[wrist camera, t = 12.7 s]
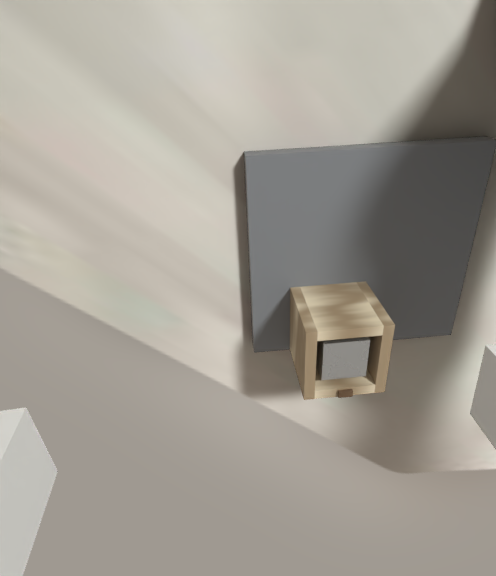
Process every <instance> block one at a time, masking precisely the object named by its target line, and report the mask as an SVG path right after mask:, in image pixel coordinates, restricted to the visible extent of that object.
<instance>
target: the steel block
mask: <svg viewBox="0 0 496 576" xmlns="http://www.w3.org/2000/svg"><path fill="white" fill-rule="evenodd" d="M369 346H370V339H369V337H358V338H347V339H336V340H325V341H317V356H316V366H317V368H318V371H319V374H320V377H321V380H330V379H341V378H351V377H362V376H366V370H367V362H368V354H369Z"/></svg>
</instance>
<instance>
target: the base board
mask: <svg viewBox="0 0 496 576" xmlns="http://www.w3.org/2000/svg"><path fill="white" fill-rule="evenodd" d="M495 148H496V139H493V138H490V137H487V136H483V137H468V138H452V139H436V140H421V141H405V142H389V143H373V144H358V145H342V146H326V147H311V148H295V149H279V150H264V151H248V152H244V163H245V185H246V207H247V229H248V251H249V273H250V295H251V317H252V339H253V348H254V352H265V351H276V350H287V349H290V288H291V287H303V286H315V285H328V284H340V283H352V282H364V281H366V282H367V284H368V285H369V287H370V288H371V290H372V291H373V293H374V294H375V296H376V297H377V299H378V300H379V302H380V303H381V305H382V306H383V308H384V309H385V311H386V312H387V314H388V315H389V317H390V318H391V320H392V321H393V323H394V324H395V329H394V335H393V340H398V339H409V338H420V337H431V336H442V335H451V333H452V328H453V324H454V320H455V316H456V312H457V308H458V303H459V299H460V295H461V291H462V287H463V282H464V278H465V274H466V270H467V266H468V261H469V257H470V253H471V249H472V245H473V241H474V236H475V232H476V228H477V224H478V220H479V215H480V211H481V207H482V203H483V199H484V194H485V190H486V186H487V182H488V178H489V174H490V169H491V165H492V161H493V157H494V153H495Z"/></svg>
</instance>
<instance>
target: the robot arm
mask: <svg viewBox="0 0 496 576" xmlns="http://www.w3.org/2000/svg"><path fill="white" fill-rule="evenodd" d="M470 414H471V416H472V417H473V418H474V420H475V421H476V423H477V424H478V425H479V427H480V428H481V430H482V431H483V432H484V434H485V435H486V437H487V438H488V439H489V441H490V442H491V444H492V445H493V446H494V448H495V449H496V344H491V345H486V346H485V350H484V355H483V359H482V363H481V368H480V372H479V377H478V381H477V385H476V390H475V394H474V398H473V403H472V407H471V411H470ZM56 474H57V469H56V467H55V465H54V463H53V461H52V459H51V457H50V455H49V453H48V451H47V449H46V447H45V445H44V443H43V441H42V439H41V437H40V435H39V433H38V431H37V429H36V426H35V424H34V423H33V421H32V418H31V416H30V414H29V412H28V410H27V409H26V408H19V409H12V410H5V411H0V576H23V573H24V570H25V567H26V564H27V561H28V558H29V555H30V552H31V549H32V546H33V543H34V540H35V537H36V534H37V531H38V528H39V525H40V522H41V519H42V516H43V513H44V510H45V507H46V504H47V501H48V498H49V495H50V492H51V489H52V487H53V483H54V481H55V478H56Z"/></svg>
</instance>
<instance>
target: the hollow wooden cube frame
mask: <svg viewBox="0 0 496 576" xmlns="http://www.w3.org/2000/svg"><path fill="white" fill-rule="evenodd" d="M394 329H395V324H394V323H393V321H392V320H391V318H390V317H389V315H388V314H387V312H386V311H385V309H384V308H383V306H382V305H381V303H380V302H379V300H378V299H377V297H376V296H375V294H374V293H373V291H372V290H371V288H370V287H369V285H368V284H367V282H366V281H364V282H352V283H340V284H328V285H315V286H303V287H291V288H290V352H291V355H292V359H293V362H294V366H295V369H296V373H297V377H298V380H299V384H300V387H301V391H302V394H303V398H304V400H307V399H317V398H328V397H339V398H341V397H352V396H353V395H359V394H369V393H379V392H385V386H386V380H387V374H388V367H389V361H390V354H391V348H392V342H393V335H394ZM358 337H369V339H370V346H369V354H368V362H367V370H366V376H362V377H351V378H341V379H330V380H321V377H320V374H319V371H318V368H317V366H316V356H317V341H325V340H336V339H347V338H358Z"/></svg>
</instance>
